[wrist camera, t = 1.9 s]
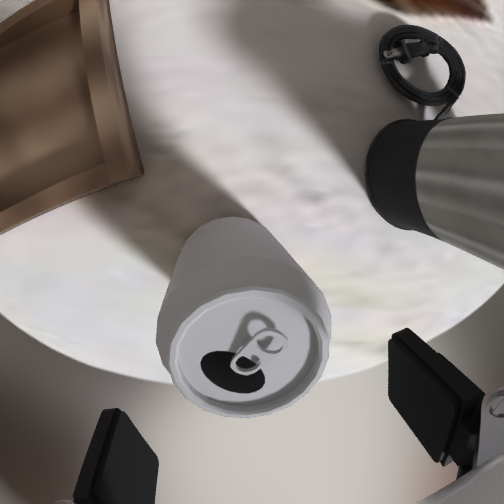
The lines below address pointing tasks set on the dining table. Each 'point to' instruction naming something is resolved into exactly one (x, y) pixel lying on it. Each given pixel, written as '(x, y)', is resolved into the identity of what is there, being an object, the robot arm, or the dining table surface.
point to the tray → (60, 109)
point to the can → (242, 322)
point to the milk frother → (439, 158)
